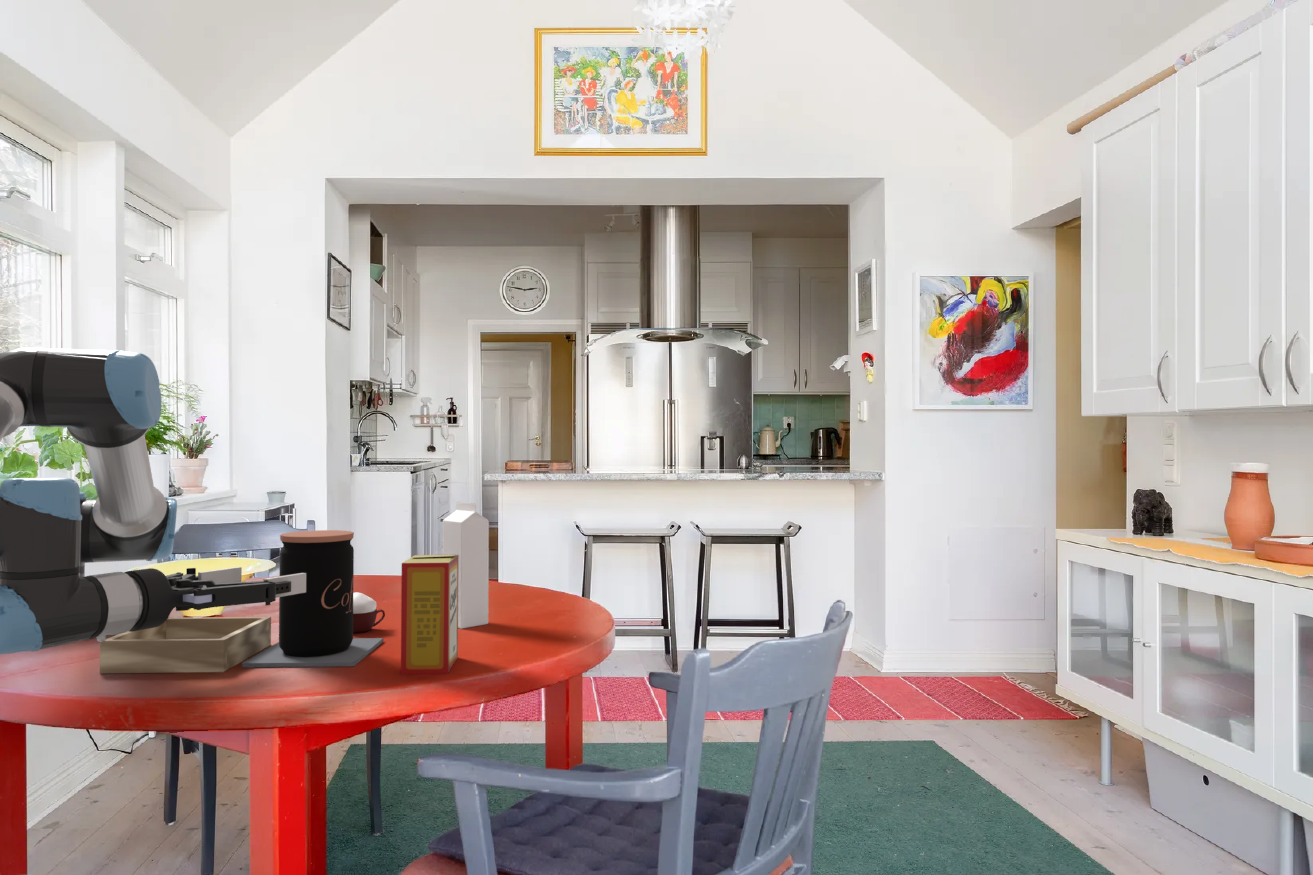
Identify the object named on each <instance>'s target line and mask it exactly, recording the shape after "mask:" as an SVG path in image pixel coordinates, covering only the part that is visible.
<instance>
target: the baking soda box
mask: <svg viewBox="0 0 1313 875" xmlns="http://www.w3.org/2000/svg"><path fill="white" fill-rule="evenodd" d="M458 561H459V555H443V554H415V555H413V556H411V557H410V558H408V559H406V560H405V561H403V562H402V563H401V592H400V593H401V596H400V597H401V599H400V600H401V602H400V606H401V608H400V611H401V613H400V615H401V617H400V620H401V621H400V623H401V624H400V626H401V627H400V635H401V636H400V675H404V676H405V675H445V674H446V675H447V673H448V672H450V671H451V670H450V669H452V668H453V666H454V665H455V663H456V662H457V660H458V658H459V628H458ZM456 659H457V660H456ZM453 664H454V665H453ZM451 667H452V668H451ZM448 674H449V673H448Z"/></svg>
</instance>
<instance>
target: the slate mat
mask: <svg viewBox="0 0 1313 875" xmlns="http://www.w3.org/2000/svg"><path fill="white" fill-rule="evenodd" d="M383 642H384V638H383V637H375V638H373V637H372V638H371V637H370V638H369V637H367V638H364V637H363V638H361V637H359V638H354V637H353V640H352V643H351V644H350V646H349V647H348V649H347V650H345V651H343V652H340V653H337V654H332V655H326V656H317V657H294V656H289V655H285V654H284V653H283V650H282V649H281V648H280V646H279V641H278V642H276V643H274V644H272V645H270V647H269V646H268V647H266V648H265V649H263V651H262V650H261V651H260V652H258V653H256V654H254V655H253V656H251V657H249V659H248V658H247V659H246V660H244V661H242V662H241V668H304V667H305V668H306V667H307V668H313V667H315V668H317V667H322V668H323V667H355V666H356V665H358V663H360V662H361V661H362V660H364V658H366V657H367V656H368V655H369V654H370V653H372V652H373V651H374V650H375V649H377V647H379V646H380V645H381V644H383Z"/></svg>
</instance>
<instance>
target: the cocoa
mask: <svg viewBox="0 0 1313 875" xmlns="http://www.w3.org/2000/svg"><path fill="white" fill-rule="evenodd" d="M378 613H382V615H381V618H379V619H378V620H377V615H378ZM385 616H386V613H385V610H384V609H378V610H377V601H376V600H374V599H373V598H372V597H371V596H370V597H369V596H368V595H366V594H364V593H362V592H353V634H361V633H366V632H368V631H370V630H371V629H372V628H374V627H376V626H377V625H379V624H380V623H381V622H382V621H383V620H384V619H385Z"/></svg>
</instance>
